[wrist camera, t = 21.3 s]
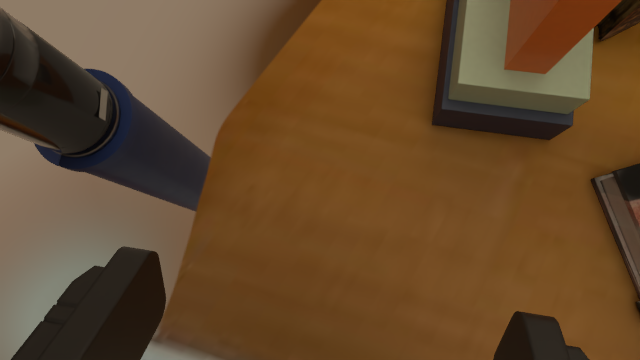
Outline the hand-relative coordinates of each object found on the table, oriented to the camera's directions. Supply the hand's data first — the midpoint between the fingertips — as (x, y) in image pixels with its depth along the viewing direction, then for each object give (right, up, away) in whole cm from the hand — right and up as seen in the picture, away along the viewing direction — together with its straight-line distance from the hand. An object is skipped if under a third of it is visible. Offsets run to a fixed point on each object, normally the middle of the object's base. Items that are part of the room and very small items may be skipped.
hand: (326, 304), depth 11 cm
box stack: (+19, +18, +39) cm, 47 cm away
